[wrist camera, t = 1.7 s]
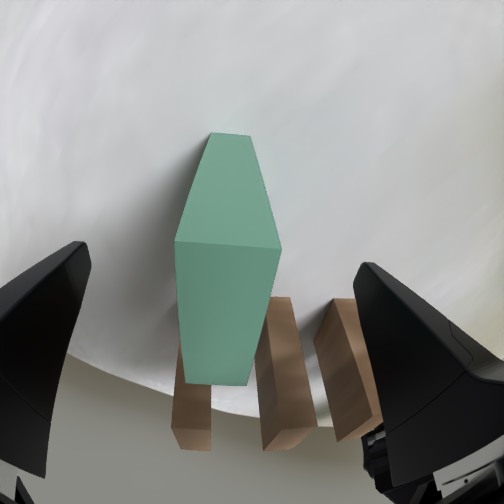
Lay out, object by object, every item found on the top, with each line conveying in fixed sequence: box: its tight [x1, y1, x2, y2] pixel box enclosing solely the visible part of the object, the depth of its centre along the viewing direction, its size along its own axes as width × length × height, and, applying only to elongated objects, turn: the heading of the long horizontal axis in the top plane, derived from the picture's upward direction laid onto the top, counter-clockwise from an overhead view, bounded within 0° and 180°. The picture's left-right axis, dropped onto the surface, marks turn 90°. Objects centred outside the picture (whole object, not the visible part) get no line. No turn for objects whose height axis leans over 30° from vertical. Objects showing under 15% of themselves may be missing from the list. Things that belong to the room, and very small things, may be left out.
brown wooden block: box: [171, 340, 211, 451], centre depth 15 cm, size 2×5×9 cm, turn 172°
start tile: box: [174, 133, 282, 386], centre depth 10 cm, size 2×5×9 cm, turn 172°
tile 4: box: [254, 297, 318, 451], centre depth 16 cm, size 2×5×9 cm, turn 172°
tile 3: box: [313, 299, 383, 442], centre depth 17 cm, size 2×5×9 cm, turn 172°
